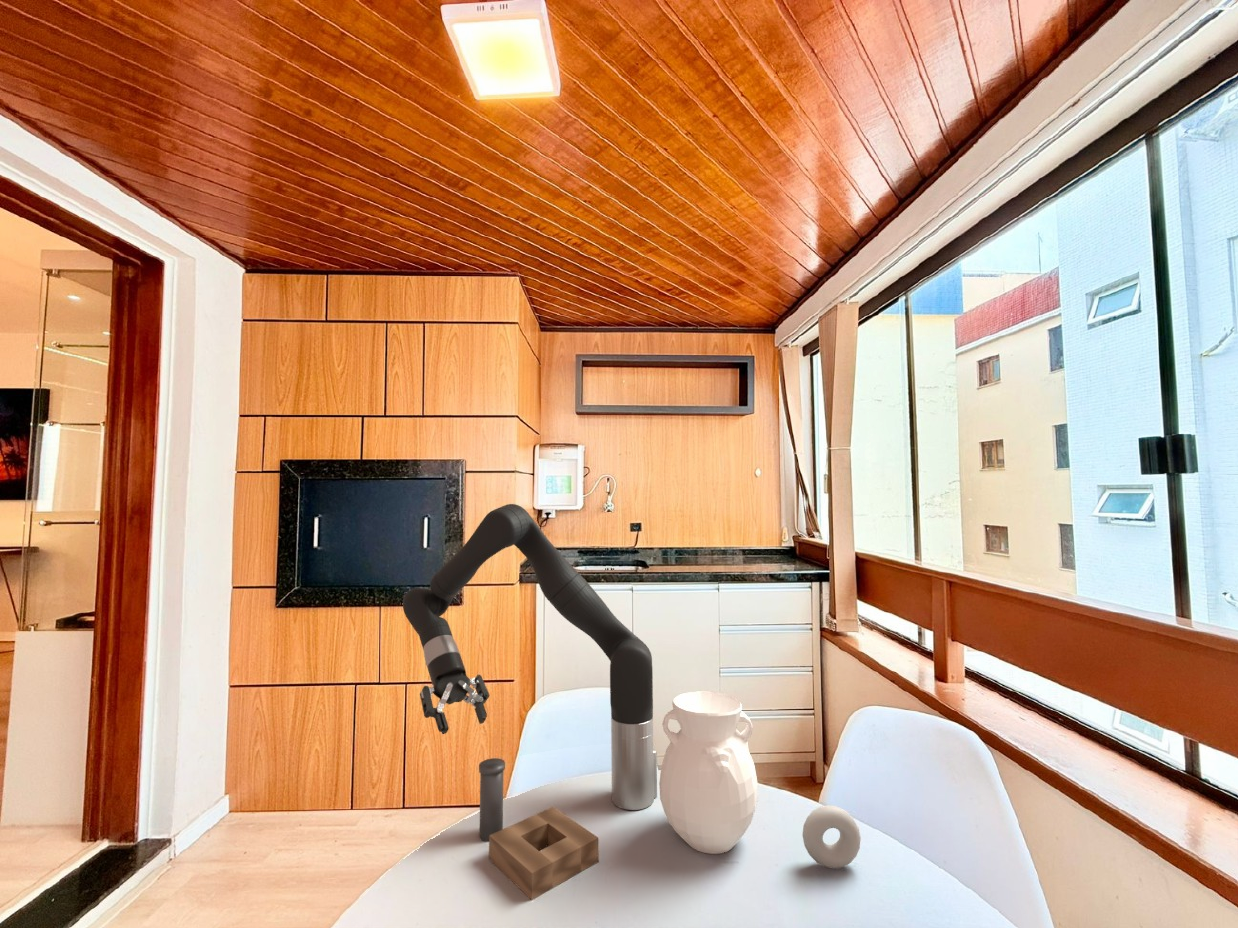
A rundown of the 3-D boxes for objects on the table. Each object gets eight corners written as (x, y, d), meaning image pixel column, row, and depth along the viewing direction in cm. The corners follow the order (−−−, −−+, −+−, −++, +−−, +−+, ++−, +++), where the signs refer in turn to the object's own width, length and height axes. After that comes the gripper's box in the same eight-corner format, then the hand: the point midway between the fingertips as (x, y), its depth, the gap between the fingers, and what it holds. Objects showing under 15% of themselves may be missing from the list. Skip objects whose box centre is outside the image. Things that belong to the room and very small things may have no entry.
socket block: (552, 828, 104) (553, 806, 105) (598, 861, 94) (598, 837, 95) (488, 859, 95) (489, 835, 95) (531, 899, 85) (532, 872, 85)
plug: (496, 823, 106) (497, 755, 107) (509, 834, 102) (509, 764, 104) (473, 834, 103) (474, 763, 104) (485, 845, 99) (486, 772, 100)
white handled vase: (751, 813, 109) (747, 687, 112) (767, 872, 91) (762, 720, 93) (661, 809, 111) (659, 685, 114) (659, 866, 93) (656, 717, 95)
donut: (807, 873, 90) (805, 811, 92) (800, 860, 94) (798, 801, 95) (866, 873, 91) (862, 811, 92) (856, 860, 94) (853, 800, 95)
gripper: (418, 656, 116) (438, 725, 106) (477, 645, 125) (501, 708, 116) (407, 675, 119) (426, 745, 110) (466, 664, 129) (488, 727, 119)
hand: (464, 726), depth 113 cm, fingers open, 8 cm apart
